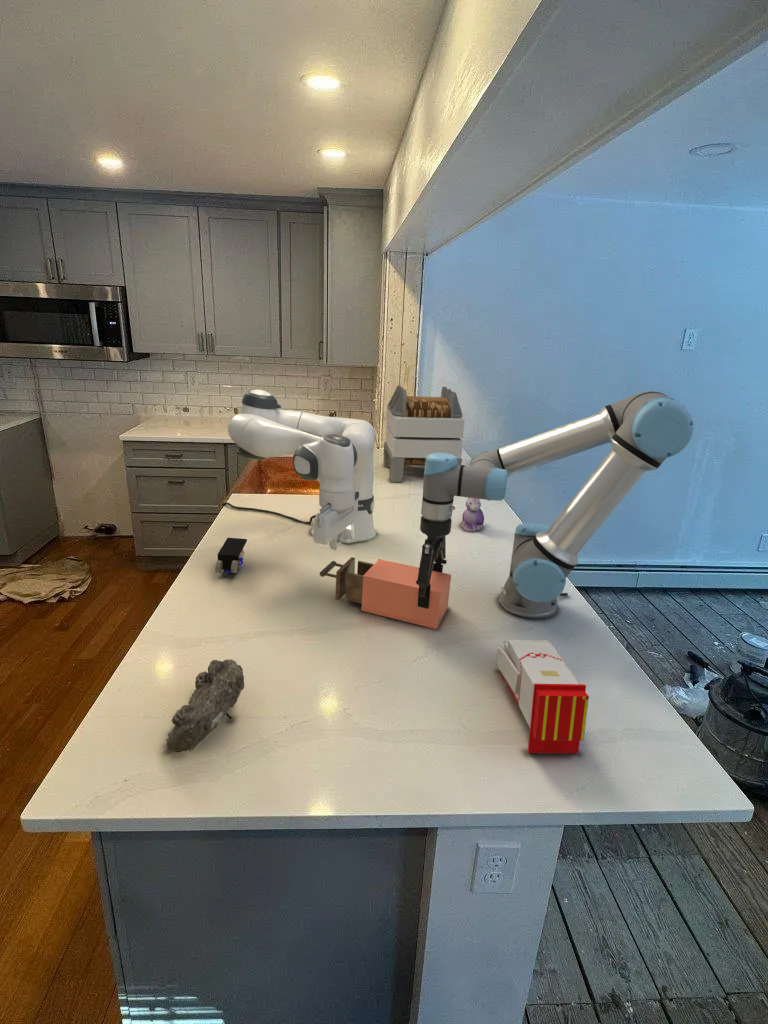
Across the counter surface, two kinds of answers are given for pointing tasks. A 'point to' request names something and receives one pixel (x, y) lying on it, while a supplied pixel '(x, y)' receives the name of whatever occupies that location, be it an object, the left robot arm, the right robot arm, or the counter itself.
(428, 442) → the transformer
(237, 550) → the figurine character
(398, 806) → the counter surface
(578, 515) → the right robot arm
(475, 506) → the figurine
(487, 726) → the counter surface
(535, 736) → the toy
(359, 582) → the drawer
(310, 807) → the counter surface
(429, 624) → the cabinet
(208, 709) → the fossil
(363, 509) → the left robot arm
